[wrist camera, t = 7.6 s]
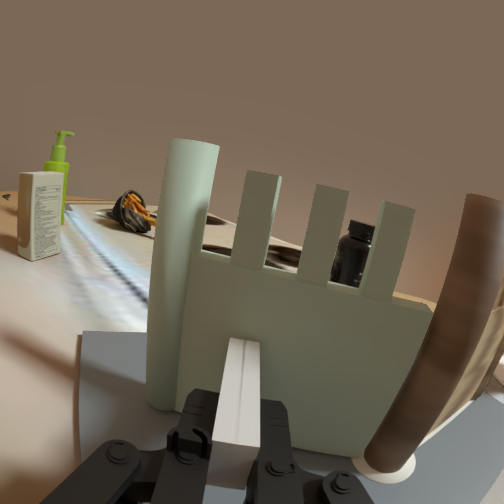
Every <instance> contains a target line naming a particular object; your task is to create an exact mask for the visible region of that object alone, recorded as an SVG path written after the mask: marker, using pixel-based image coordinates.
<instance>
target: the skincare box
mask: <svg viewBox="0 0 504 504" xmlns="http://www.w3.org/2000/svg"><path fill="white" fill-rule="evenodd" d="M63 183H64V173H60V172H52V171H47V172H24V173H20V178H19V192H18V217H17V234H18V254H19V255H20V256H22V257H24V258H26V259H28V260H30V261H35V260H38V259H41V258H45V257H48V256H51V255H54V254H57V253H60V232H61V208H62V195H63Z"/></svg>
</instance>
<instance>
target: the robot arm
mask: <svg viewBox="0 0 504 504" xmlns="http://www.w3.org/2000/svg"><path fill="white" fill-rule="evenodd" d="M205 485H211V486H217V487H223V488H230V489H238V490H245V488H246V497H245V500H244V502H243V504H374V502H373V500H372V499H371V497H370V496H369V494H368V492H367V491H366V489H365V488H364V486H363V484H362V483H361V481H360V480H359V479H358V478H357V477H356V476H355V475H353V474H352V473H350V472H346V471H333V472H331V473H328V474H327V475H326V476H321V475H317V474H313V473H310V472H307V471H305V470H303V469H302V468H300V467H299V466H298V463H297V462H296V461H295V460H294V459H293V455H292V446H291V438H290V429H289V421H288V411H287V409H286V407H285V406H284V404H283V403H282V401H276V400H268V399H260V342H255V341H249V340H243V339H237V338H232V337H230V341H229V346H228V352H227V357H226V363H225V368H224V374H223V379H222V385H221V391H220V393H218V392H213V391H208V390H203V389H198V388H195V389H194V390H192V391H191V392H190V393H189V394H188V395H187V398H186V401H185V405H184V407H183V411H182V414H181V417H180V420H179V423H178V426H176V427H174V428H172V429H170V431H169V432H168V434H167V447H165V448H163V449H160V450H153V451H146V450H138V449H137V447H135V446H134V445H133V444H131V443H130V442H127V441H124V440H118V439H114V440H109V441H106V442H105V443H103V444H102V445H100V446H99V447H98V448H97V449H96V450H95V451H94V452H93V453H92V454H91V455H90V456H89V457H88V458H87V459H86V460H85V461H84V462H83V463H82V464H81V465H80V466H79V467H78V468H77V469H76V470H75V471H74V472H73V473H72V474H70V475H69V476H68V477H67V478H66V479H65V480H64V481H63V482H62V483H61V484H60V485H59V486H58V487H57V488H56V489H55V490H54V491H52V492H51V493H50V494H49V495H48V496H47V497H46V498H45V499H44V500H43V501H42V502H41V503H40V504H143V503H144V502H145V503H150V504H202V503H203V497H204V491H205Z"/></svg>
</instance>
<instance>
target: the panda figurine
mask: <svg viewBox="0 0 504 504" xmlns="http://www.w3.org/2000/svg"><path fill="white" fill-rule="evenodd" d="M493 375H494V377H495V378H496V379H497V380H498V381H499V382H500V383H501V384H502V385H504V356H502V357H501V359H500V361H499V363H498V365H497V367H496V369H495V371H494V373H493Z"/></svg>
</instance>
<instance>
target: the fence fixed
mask: <svg viewBox="0 0 504 504" xmlns="http://www.w3.org/2000/svg"><path fill="white" fill-rule="evenodd" d="M503 353H504V203H503V202H501V201H498V200H495V199H492V198H489V197H485V196H481V195H476V194H466V199H465V204H464V209H463V214H462V219H461V224H460V228H459V232H458V236H457V240H456V244H455V248H454V252H453V255H452V259H451V263H450V266H449V269H448V273H447V276H446V279H445V282H444V285H443V288H442V291H441V294H440V297H439V300H438V303H437V306H436V308H435V311H434V314H433V316H432V319H431V322H430V324H429V327H428V329H427V332H426V334H425V337H424V339H423V341H422V344H421V346H420V348H419V351H418V353H417V355H416V357H415V359H414V362H413V364H412V366H411V368H410V370H409V372H408V374H407V376H406V378H405V380H404V382H403V384H402V386H401V388H400V390H399V392H398V394H397V396H396V398H395V399H394V401H393V403H392V405H391V407H390V409H389V410H388V412H387V414H386V416H385V417H384V419H383V421H382V422H381V424H380V426H379V427H378V429H377V431H376V432H375V434H374V436H373V437H372V439H371V440H370V442H369V443H368V445H367V446H366V448H365V450H364V458H365V460H366V462H367V464H368V465H369V466H370V467H371V468H373V469H374V470H376V471H378V472H382V473H394V472H397V471H398V470H400V469H401V468H402V467H403V466H404V464H405V463H406V462H407V461H408V459H409V458H410V457H411V455H412V454H413V453H414V451H415V450H416V449H417V447H418V446H419V445H420V443H421V442H422V441H423V439H424V438H425V437H426V436H427V435H428V434H430V433H431V432H432V431H434V430H435V429H436V428H438V427H439V426H440V425H441V424H443V423H444V422H445V421H446V420H447V419H449V418H450V417H451V416H452V415H453V414H455V413H456V412H457V411H458V410H459V409H460V408H461V407H463V406H464V405H465V404H466V403H467V402H468V401H469V400H470V399H471V398H472V397H475V398H478V397H480V396H481V394H482V393H483V391H484V389H485V388H486V386H487V384H488V382H489V380H490V379H491V377H492V375H493V373H494V371H495V369H496V367H497V365H498V363H499V361H500V359H501V357H502V355H503Z"/></svg>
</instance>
